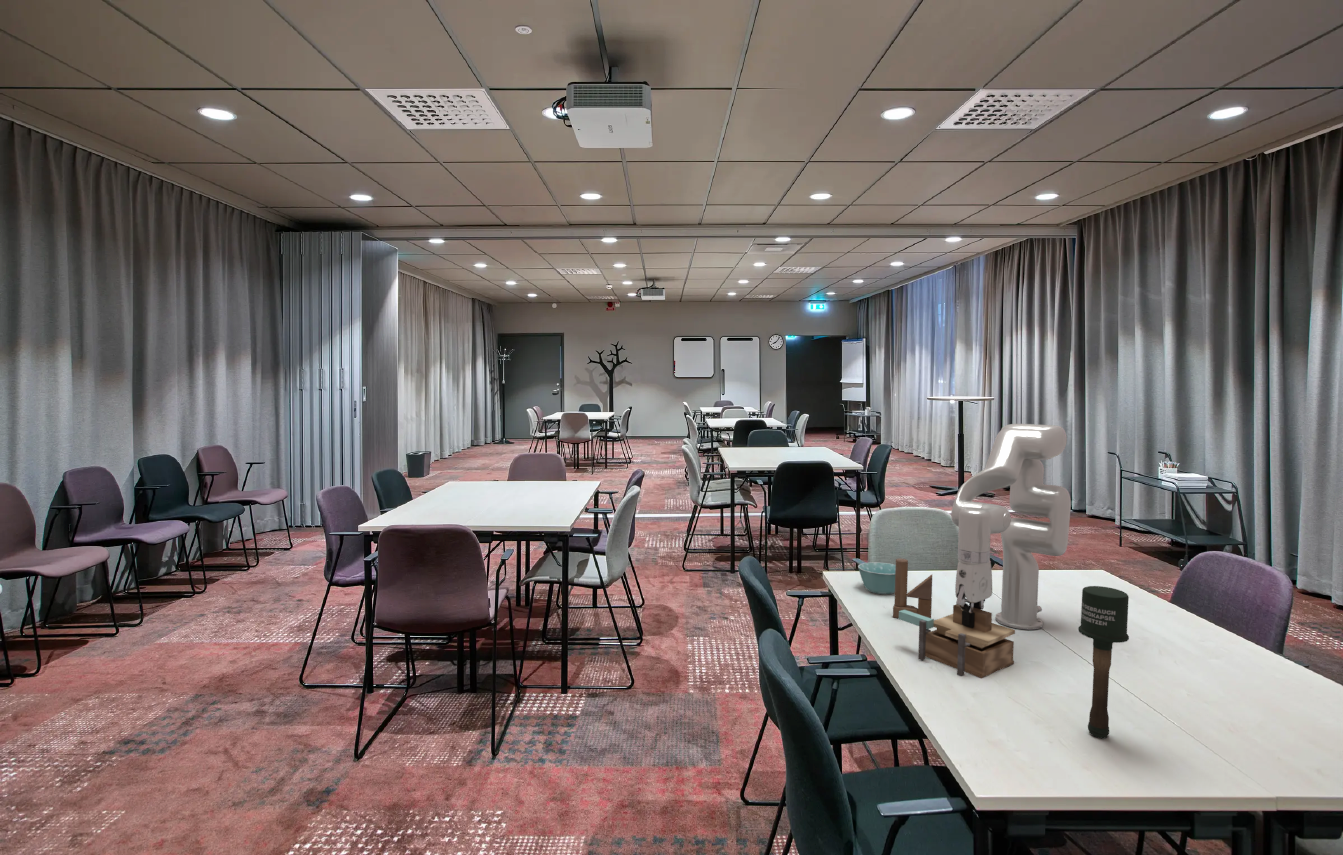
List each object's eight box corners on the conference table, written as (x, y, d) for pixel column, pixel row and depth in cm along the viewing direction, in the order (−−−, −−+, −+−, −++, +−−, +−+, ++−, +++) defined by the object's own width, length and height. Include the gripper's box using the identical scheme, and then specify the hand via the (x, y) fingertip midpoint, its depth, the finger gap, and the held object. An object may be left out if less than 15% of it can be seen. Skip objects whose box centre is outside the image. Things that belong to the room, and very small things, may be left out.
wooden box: (956, 643, 183) (957, 607, 183) (1014, 663, 170) (1015, 625, 170) (916, 658, 173) (918, 620, 173) (974, 681, 160) (976, 640, 159)
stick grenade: (1064, 725, 140) (1070, 585, 138) (1102, 723, 140) (1109, 584, 138) (1093, 746, 131) (1100, 598, 129) (1134, 745, 132) (1141, 597, 130)
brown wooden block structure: (930, 623, 199) (931, 564, 197) (892, 618, 203) (894, 560, 202) (931, 619, 202) (933, 561, 201) (894, 614, 207) (895, 557, 206)
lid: (957, 620, 183) (957, 596, 183) (1014, 639, 170) (1015, 612, 169) (923, 633, 174) (924, 607, 174) (981, 653, 161) (982, 626, 161)
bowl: (854, 583, 239) (855, 560, 238) (899, 585, 237) (900, 562, 236) (861, 596, 224) (861, 572, 223) (909, 599, 221) (910, 574, 221)
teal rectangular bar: (904, 617, 182) (904, 609, 181) (933, 627, 174) (933, 619, 174) (898, 619, 180) (898, 611, 180) (927, 629, 173) (928, 621, 173)
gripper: (969, 564, 164) (967, 636, 165) (1004, 553, 173) (1002, 622, 174) (941, 557, 170) (940, 627, 171) (977, 547, 179) (975, 614, 180)
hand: (971, 624), depth 173 cm, fingers closed on lid, 2 cm apart
